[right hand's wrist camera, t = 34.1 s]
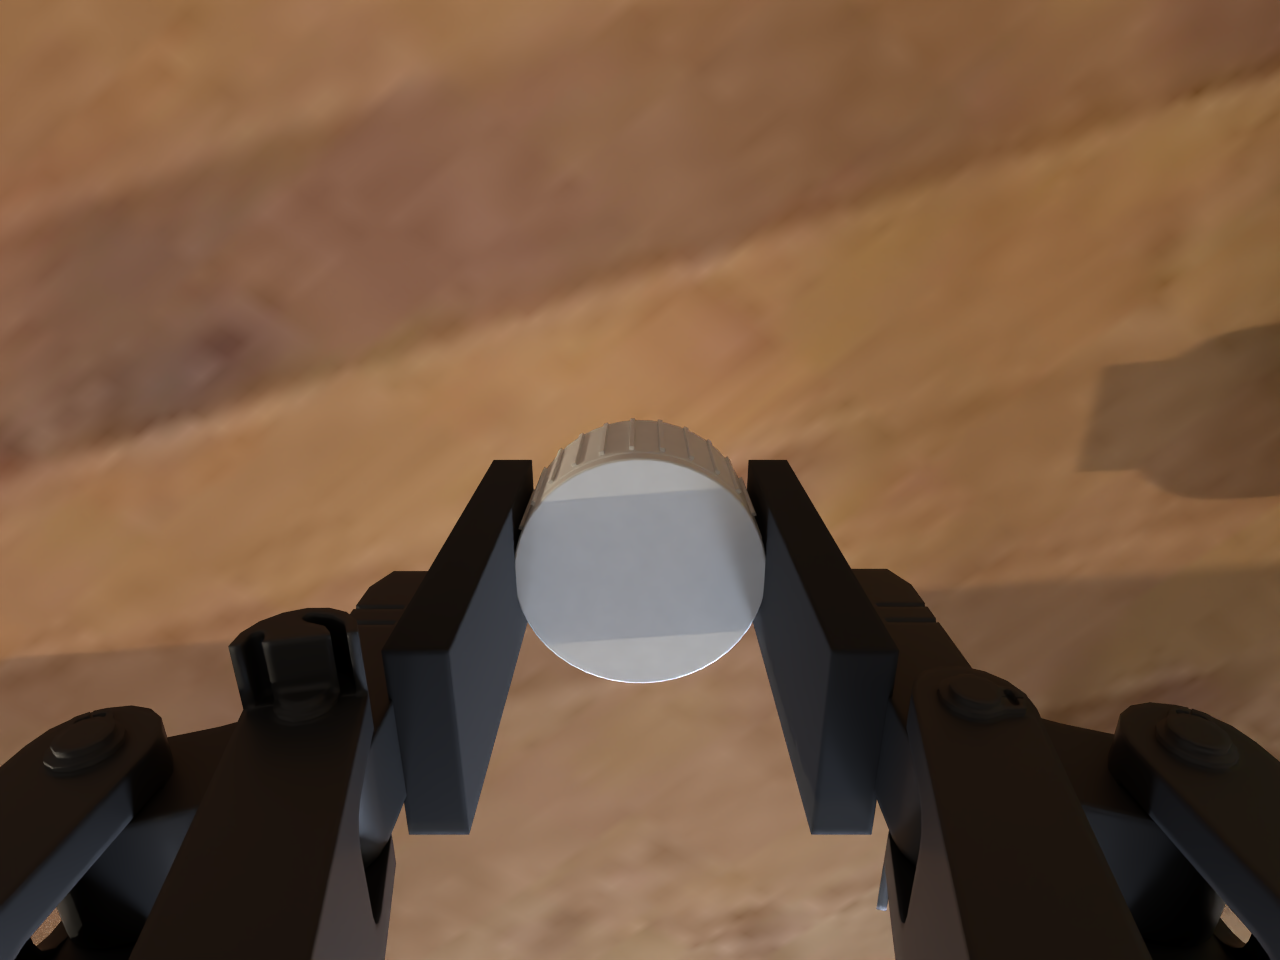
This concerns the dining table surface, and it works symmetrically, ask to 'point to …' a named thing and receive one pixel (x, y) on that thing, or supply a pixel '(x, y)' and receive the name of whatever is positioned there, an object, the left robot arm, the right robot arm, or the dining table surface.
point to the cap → (640, 553)
